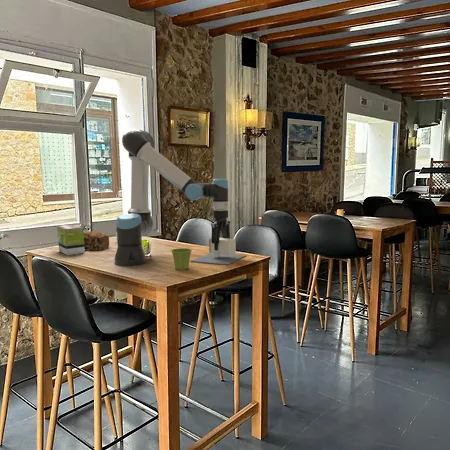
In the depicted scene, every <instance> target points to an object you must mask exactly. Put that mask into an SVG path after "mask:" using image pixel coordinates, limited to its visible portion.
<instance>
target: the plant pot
mask: <svg viewBox="0 0 450 450" xmlns="http://www.w3.org/2000/svg"><path fill="white" fill-rule="evenodd" d="M192 251H193V249H191V248H173V249H171V250H170V252H171V254H172V256H173V257H172V258H173V263H174V267H175V268H174V269H175V270H178V271H183V270H185V271H186V269H187V270H188V269H189V267H190V261H191V260H190V259H191V254H192Z"/></svg>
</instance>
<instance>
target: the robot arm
mask: <svg viewBox="0 0 450 450" xmlns="http://www.w3.org/2000/svg"><path fill="white" fill-rule="evenodd" d="M155 141H156V140H155V139H154V136H153V135H152V134H151V133H149V132H148V131H146V130H142V129H137V128H130V129H128V130H127V131H125V132H124V133H123V135H122V138H121V142H122V143H121V144H122V146H123V148H124V149H125V150H126V151H127V153H128V158H129V159H130V160H131V170H130V171H131V172H130V173H131V174H130V175H131V179H130V180H131V181H130V182H131V186H130V195H131V196H130V207H129V209H128V210H127V213H124V214H120V215H119V216H117V218H116V229H117V239H116V241H117V242H116V243H117V248H116V253H115V256H114V264H115V265H117V266H139V265H142V264H145V263H146V262H147V257H146V254H145V250H144V247H143V242H142V241H143V237H145V236H147V235H149V234H150V233H151V231H152V230H153V227H154V220H153V218H152V211H151V209H149V172H150V171H149V167H150V168H152V169H154V170H155V171H156V172H157V173H159V174H160V175H161V176H162V177H163V178H165V179H166V180H167V181H168V182H170V183H171V184H172V185H174V186H175V187H176V188H177V189H178V190H179V191H181V192H182V193H184V195H185V196H186V198H187V199H188V200H190V201H198V200H200V199H212V200H213V201H212V209H213V211H212V214H213V215H212V216H213V219H214V222H211V223H210V225H211V238H210V239H211V243H213V244H214V250H215V257H220V244H219V239H220V238H228V239H231V230H230V229H231V226H230V224H231V221H230V220H227V218H229V181H228V179H227V178H213V180H212V182H197V181H195V180H194V179H193V178H191V177H190V176H189V175H188V174H187V173H185V172H184V171H183V170H181V168H179V167H178V166H177V165H175V164H174V163H172V161H170V160H169V159H168V158H166V156H164V155H163V154H162V153H161V152H159V151H158V150H157V149H155V145H156V142H155ZM221 236H222V237H221ZM224 255H225V254H224Z"/></svg>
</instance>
